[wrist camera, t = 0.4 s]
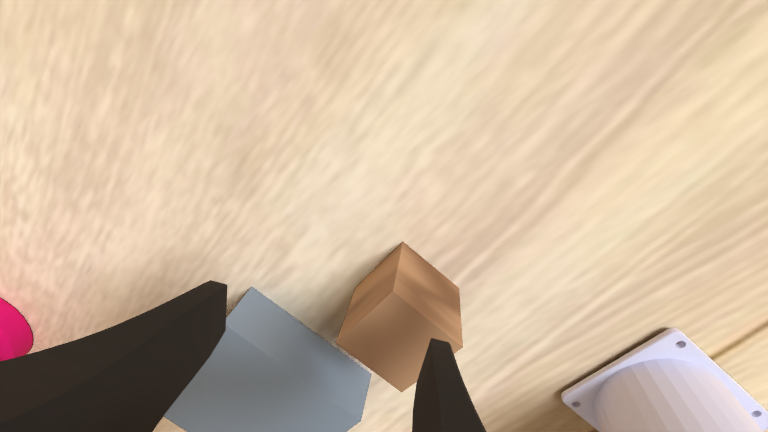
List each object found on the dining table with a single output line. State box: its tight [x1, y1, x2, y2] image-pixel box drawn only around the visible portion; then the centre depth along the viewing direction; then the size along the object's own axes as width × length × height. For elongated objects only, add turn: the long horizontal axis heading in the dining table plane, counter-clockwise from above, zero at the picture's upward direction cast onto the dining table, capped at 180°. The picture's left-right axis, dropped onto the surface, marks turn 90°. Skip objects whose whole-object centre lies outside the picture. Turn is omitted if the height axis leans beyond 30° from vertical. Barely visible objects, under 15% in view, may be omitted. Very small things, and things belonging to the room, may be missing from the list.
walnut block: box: [336, 242, 463, 392], centre depth 21 cm, size 4×4×5 cm
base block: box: [164, 287, 371, 432], centre depth 26 cm, size 10×10×4 cm
